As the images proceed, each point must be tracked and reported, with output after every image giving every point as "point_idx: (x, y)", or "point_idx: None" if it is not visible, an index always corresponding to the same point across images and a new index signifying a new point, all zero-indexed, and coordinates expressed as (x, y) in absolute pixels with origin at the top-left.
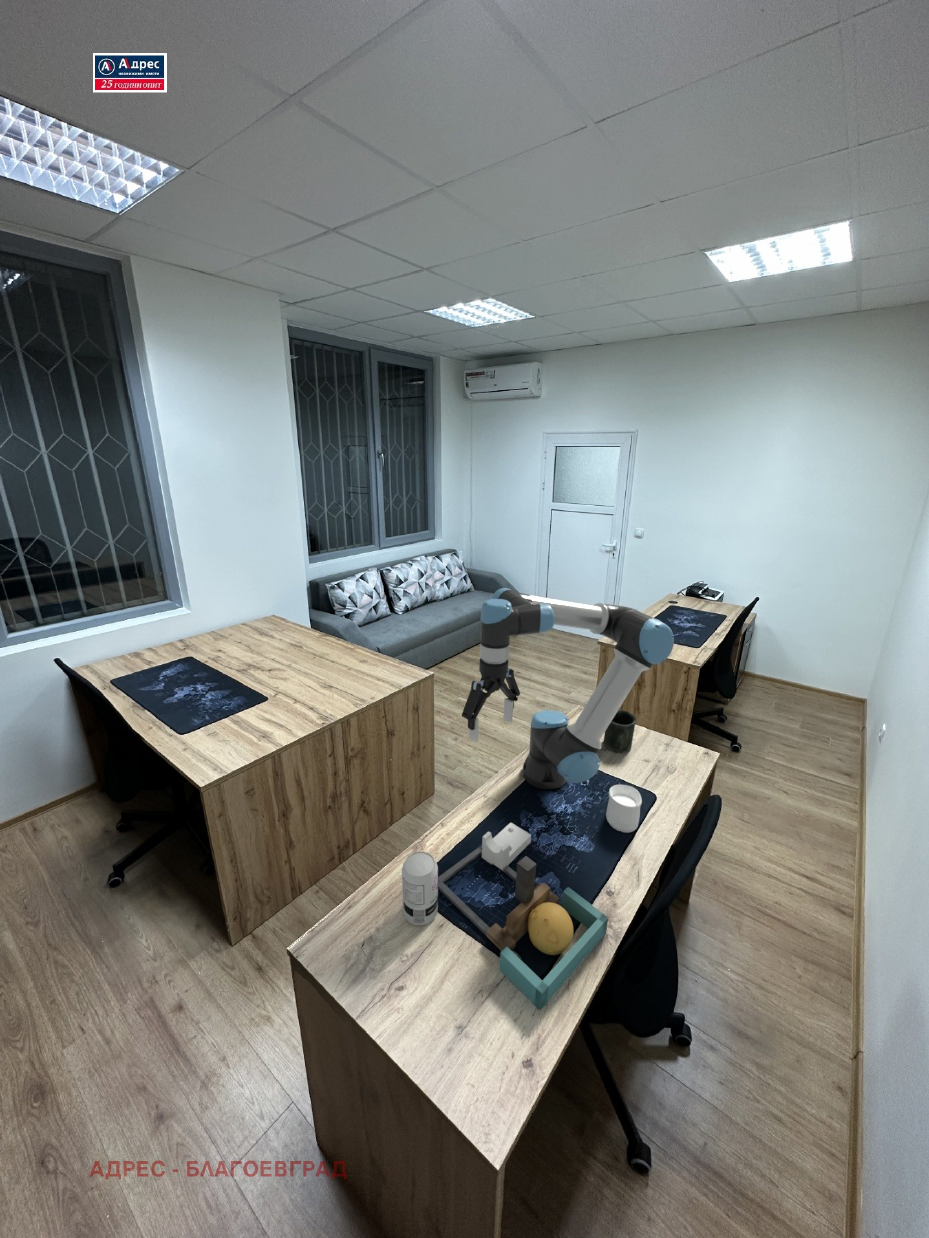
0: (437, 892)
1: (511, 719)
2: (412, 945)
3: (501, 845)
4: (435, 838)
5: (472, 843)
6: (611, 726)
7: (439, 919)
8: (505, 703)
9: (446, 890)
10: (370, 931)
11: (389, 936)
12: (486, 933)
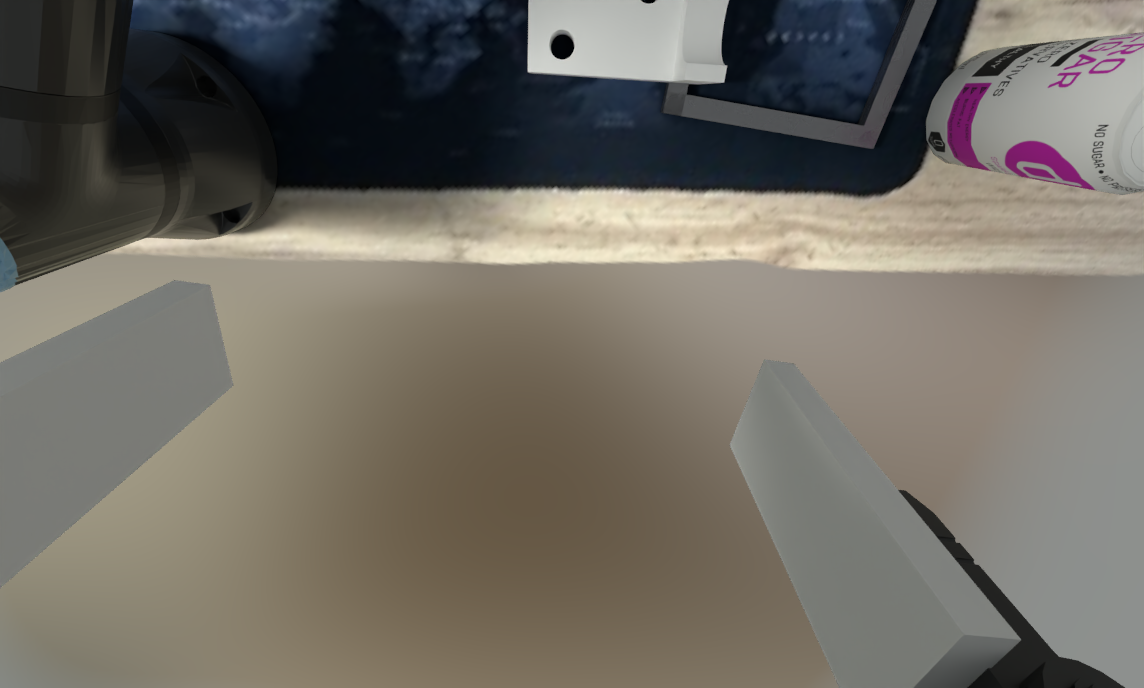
0: (1037, 53)
1: (162, 296)
2: None
3: (654, 25)
4: (708, 259)
5: (662, 151)
6: None
7: (982, 37)
8: (2, 551)
9: (892, 86)
10: None
11: None
12: None
